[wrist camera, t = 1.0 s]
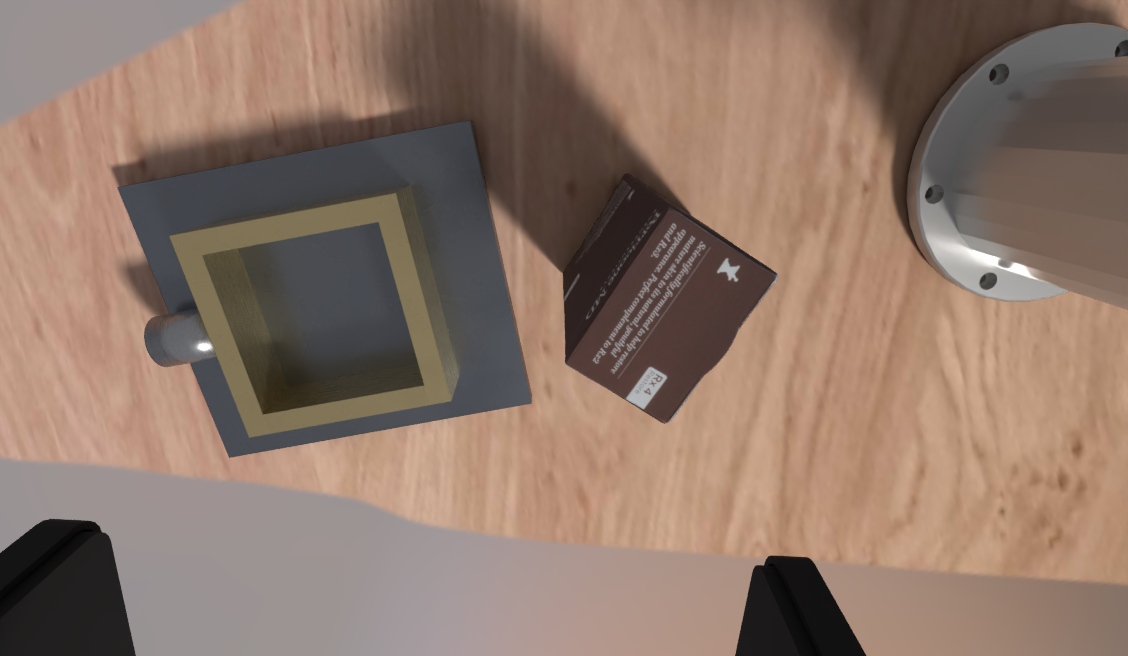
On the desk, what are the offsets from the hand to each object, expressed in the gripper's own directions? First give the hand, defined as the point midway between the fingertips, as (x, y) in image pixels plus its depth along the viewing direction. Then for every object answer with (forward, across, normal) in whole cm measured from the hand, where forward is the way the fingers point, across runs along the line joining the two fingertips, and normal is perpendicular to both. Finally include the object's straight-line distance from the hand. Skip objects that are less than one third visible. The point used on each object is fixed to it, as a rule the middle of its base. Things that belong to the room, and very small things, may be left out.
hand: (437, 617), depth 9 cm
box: (+23, -5, -1) cm, 23 cm away
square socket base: (+22, +9, +2) cm, 24 cm away
